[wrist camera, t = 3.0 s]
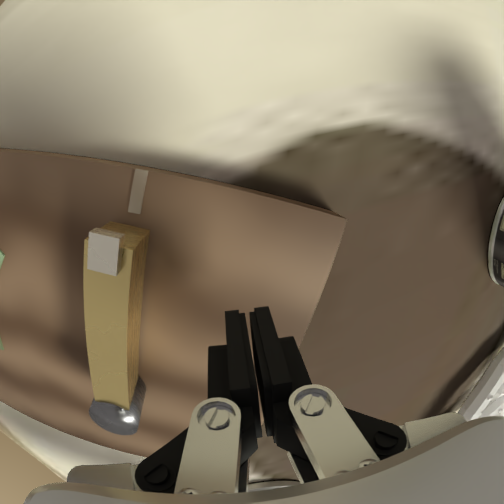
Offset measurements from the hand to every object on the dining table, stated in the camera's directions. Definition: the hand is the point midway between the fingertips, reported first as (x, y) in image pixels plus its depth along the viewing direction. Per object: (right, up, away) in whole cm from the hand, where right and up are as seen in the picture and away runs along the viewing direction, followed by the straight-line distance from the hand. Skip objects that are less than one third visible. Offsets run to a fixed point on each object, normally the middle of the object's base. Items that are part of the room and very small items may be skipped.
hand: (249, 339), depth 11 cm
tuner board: (-11, -3, +6) cm, 13 cm away
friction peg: (-7, -1, +3) cm, 7 cm away
